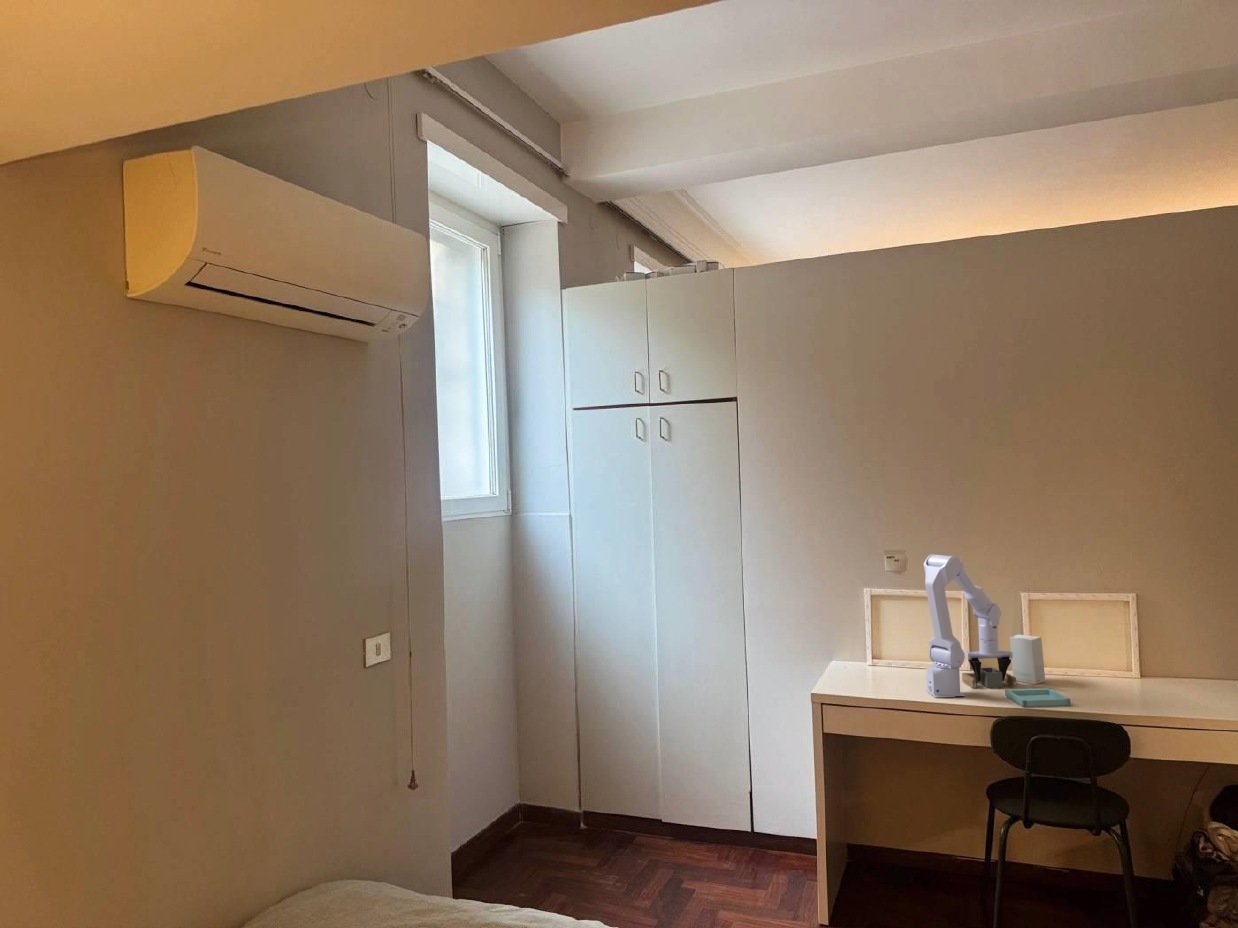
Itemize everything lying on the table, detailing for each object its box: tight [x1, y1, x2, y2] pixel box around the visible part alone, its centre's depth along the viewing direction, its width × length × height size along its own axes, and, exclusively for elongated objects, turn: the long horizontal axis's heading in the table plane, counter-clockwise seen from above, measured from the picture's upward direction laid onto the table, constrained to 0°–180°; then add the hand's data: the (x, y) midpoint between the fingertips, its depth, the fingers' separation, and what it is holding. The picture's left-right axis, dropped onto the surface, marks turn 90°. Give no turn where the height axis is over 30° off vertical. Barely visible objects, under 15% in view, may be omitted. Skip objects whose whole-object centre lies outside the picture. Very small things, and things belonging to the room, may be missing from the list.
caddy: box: [977, 666, 1004, 689], centre depth 272 cm, size 5×7×5 cm
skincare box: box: [1009, 633, 1046, 685], centre depth 275 cm, size 8×6×15 cm
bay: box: [961, 672, 1017, 689], centre depth 273 cm, size 14×8×3 cm, turn 89°
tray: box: [1004, 687, 1072, 708], centre depth 253 cm, size 14×12×2 cm
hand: (990, 680), depth 272 cm, fingers open, 7 cm apart
